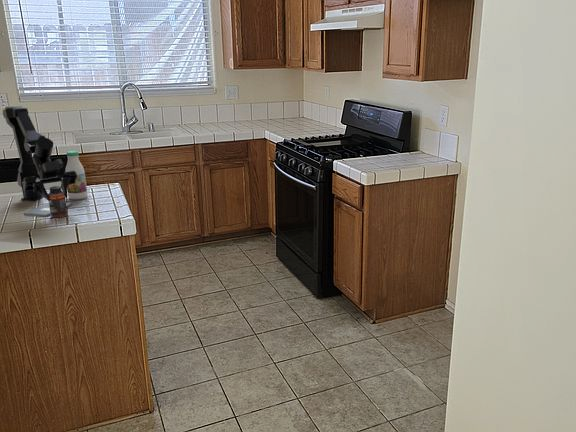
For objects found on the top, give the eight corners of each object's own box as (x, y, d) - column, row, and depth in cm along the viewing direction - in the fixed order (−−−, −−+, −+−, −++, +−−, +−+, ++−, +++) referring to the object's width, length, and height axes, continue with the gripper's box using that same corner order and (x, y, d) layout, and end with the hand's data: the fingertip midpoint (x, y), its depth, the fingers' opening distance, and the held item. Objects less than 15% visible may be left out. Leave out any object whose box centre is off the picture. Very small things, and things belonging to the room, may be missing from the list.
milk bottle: (68, 196, 222) (62, 150, 216) (87, 194, 225) (81, 149, 219) (68, 200, 215) (62, 153, 209) (88, 198, 218) (82, 152, 212)
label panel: (24, 214, 196) (23, 212, 196) (51, 203, 211) (51, 201, 211) (46, 216, 194) (46, 214, 194) (72, 205, 209) (72, 203, 208)
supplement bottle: (70, 213, 198) (66, 185, 194) (64, 218, 192) (60, 189, 189) (54, 213, 198) (50, 185, 194) (48, 218, 192) (43, 189, 188)
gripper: (20, 155, 184) (34, 191, 180) (72, 149, 196) (86, 182, 192) (17, 173, 192) (30, 207, 188) (67, 166, 204) (81, 198, 200)
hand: (58, 198), depth 192 cm, fingers closed on supplement bottle, 6 cm apart
